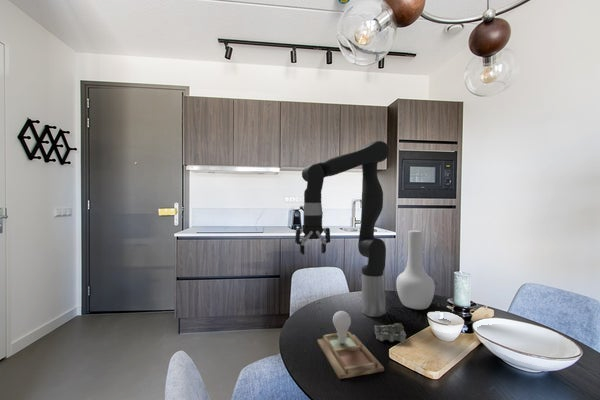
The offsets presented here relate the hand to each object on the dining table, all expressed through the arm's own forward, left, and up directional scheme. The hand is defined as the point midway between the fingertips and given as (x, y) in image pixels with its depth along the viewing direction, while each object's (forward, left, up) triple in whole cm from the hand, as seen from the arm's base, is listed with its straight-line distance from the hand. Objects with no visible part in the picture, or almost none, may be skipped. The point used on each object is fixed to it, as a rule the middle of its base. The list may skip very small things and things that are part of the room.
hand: (312, 253), depth 110 cm
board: (-4, +25, -28) cm, 38 cm away
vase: (-52, -5, -28) cm, 59 cm away
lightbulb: (-4, +20, -27) cm, 34 cm away
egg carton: (-24, +18, -29) cm, 41 cm away
